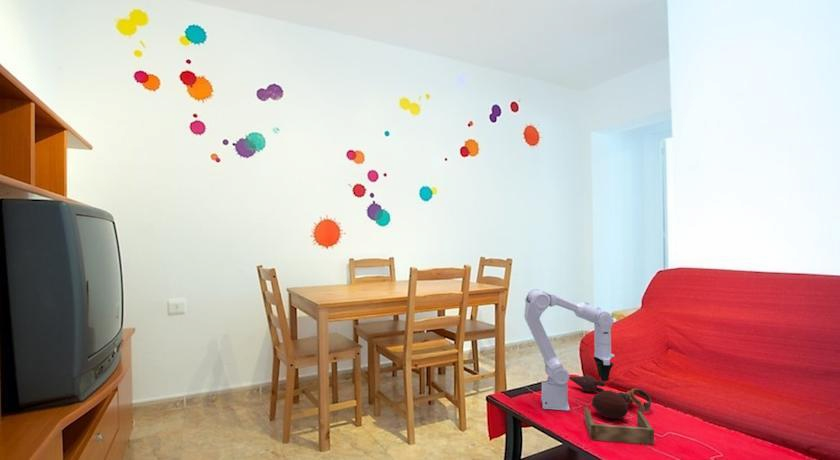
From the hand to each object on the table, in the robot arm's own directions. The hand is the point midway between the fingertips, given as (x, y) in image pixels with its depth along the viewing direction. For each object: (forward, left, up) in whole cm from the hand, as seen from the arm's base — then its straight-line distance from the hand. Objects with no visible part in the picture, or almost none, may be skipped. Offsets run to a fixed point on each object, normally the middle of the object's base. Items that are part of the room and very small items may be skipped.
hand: (603, 378), depth 162 cm
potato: (0, -11, -10) cm, 15 cm away
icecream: (-4, +14, -10) cm, 18 cm away
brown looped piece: (+10, -2, -10) cm, 14 cm away
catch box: (0, -22, -10) cm, 24 cm away
